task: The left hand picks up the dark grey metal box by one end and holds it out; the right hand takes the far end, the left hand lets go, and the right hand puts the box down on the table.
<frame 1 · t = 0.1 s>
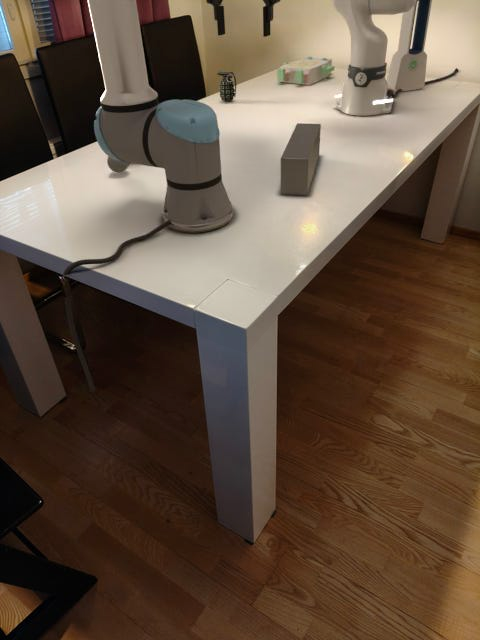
left hand: (243, 35, 129), 28 cm above the table, tool pointing down, fingers open, 13 cm apart
box: (301, 174, 124), on the table
decorative block: (304, 79, 207), on the table
electronic device: (404, 88, 187), on the table
molecular model: (143, 158, 139), on the table
grenade: (228, 101, 184), on the table
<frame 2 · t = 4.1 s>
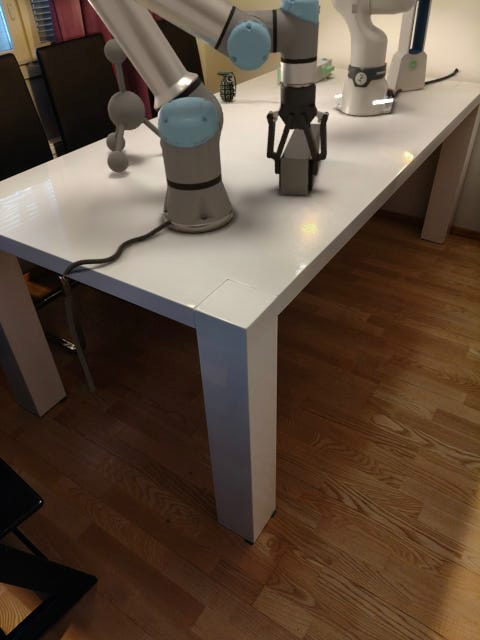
left hand: (296, 187, 117), 0 cm above the table, tool pointing down, fingers closed on box, 6 cm apart
right hand: (335, 13, 123), 32 cm above the table, tool pointing down, fingers open, 8 cm apart
box: (301, 174, 124), on the table, touching left hand
everything else where it was.
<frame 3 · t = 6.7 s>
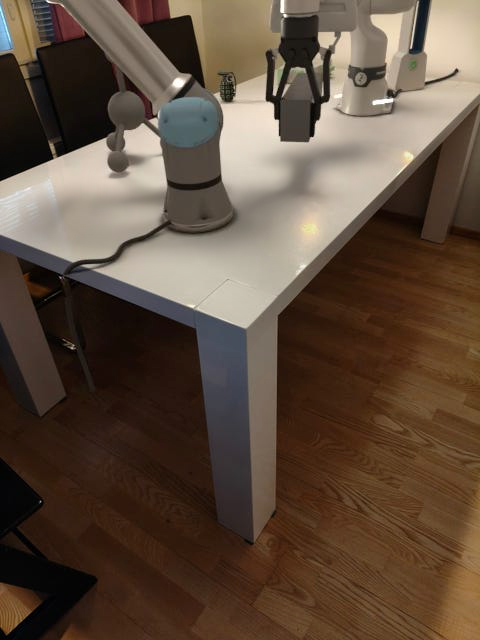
left hand: (296, 134, 109), 13 cm above the table, tool pointing down, fingers closed on box, 6 cm apart
right hand: (311, 53, 117), 26 cm above the table, tool pointing down, fingers open, 8 cm apart
box: (302, 124, 117), point 12 cm above the table, touching left hand
everything else where it was.
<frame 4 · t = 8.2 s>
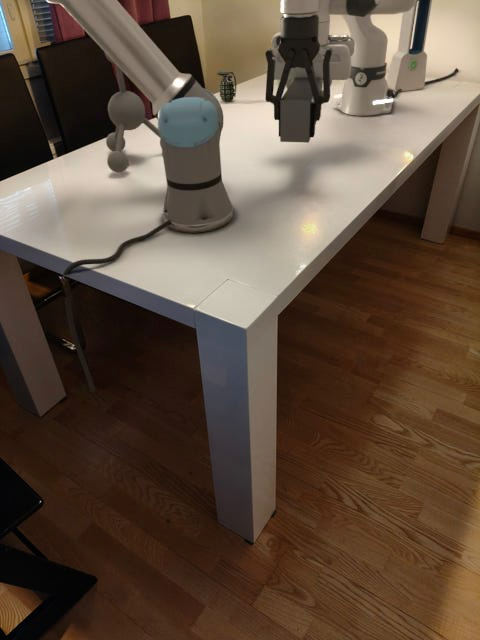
left hand: (296, 134, 109), 13 cm above the table, tool pointing down, fingers closed on box, 6 cm apart
right hand: (307, 98, 122), 16 cm above the table, tool pointing down, fingers closed on box, 6 cm apart
box: (302, 124, 117), point 12 cm above the table, touching left hand, right hand
everything else where it was.
when the left hand's fingers open (13 cm above the table, at t = 9.3 s): box stays where it is, held by the right hand.
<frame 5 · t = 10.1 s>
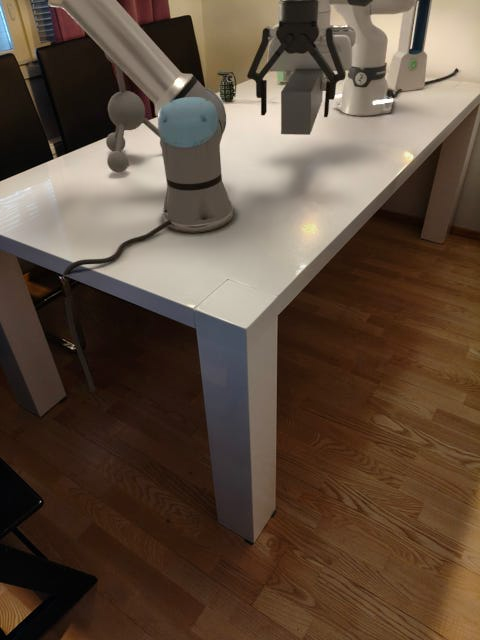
left hand: (294, 114, 106), 17 cm above the table, tool pointing down, fingers open, 13 cm apart
right hand: (308, 90, 121), 18 cm above the table, tool pointing down, fingers closed on box, 6 cm apart
box: (303, 116, 116), point 14 cm above the table, touching right hand
everything else where it was.
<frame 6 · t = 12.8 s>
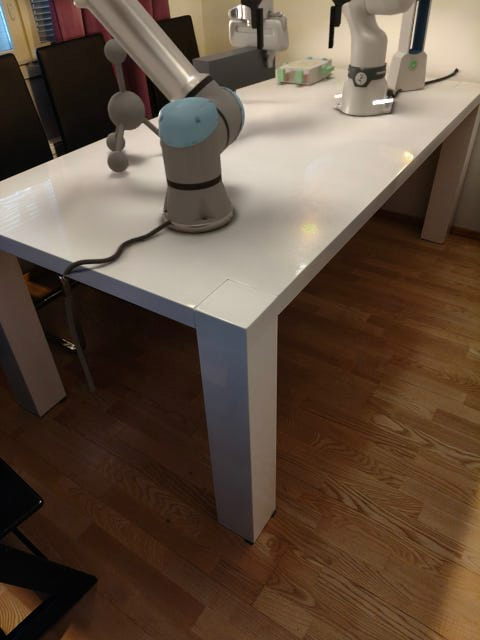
left hand: (295, 48, 94), 31 cm above the table, tool pointing down, fingers open, 13 cm apart
right hand: (259, 66, 143), 19 cm above the table, tool pointing down, fingers closed on box, 6 cm apart
box: (237, 85, 140), point 15 cm above the table, touching right hand
everything else where it was.
when the right hand's fingers open (5 cm above the table, at t = 17.3 s): box stays where it is, on the table.
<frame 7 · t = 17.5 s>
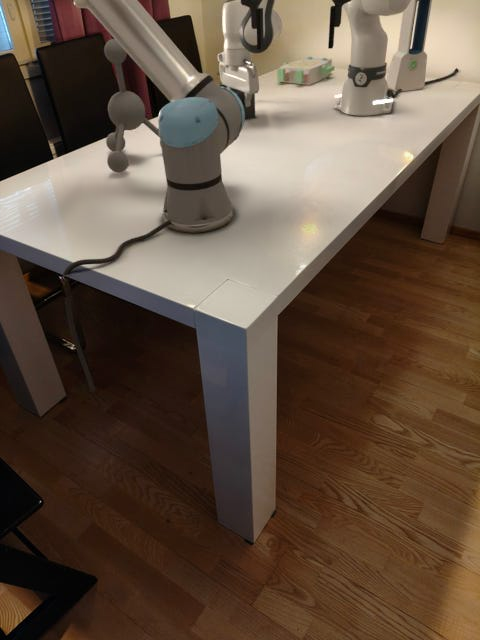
left hand: (295, 48, 94), 31 cm above the table, tool pointing down, fingers open, 13 cm apart
right hand: (240, 103, 164), 5 cm above the table, tool pointing down, fingers open, 8 cm apart
box: (217, 123, 163), on the table
everything else where it was.
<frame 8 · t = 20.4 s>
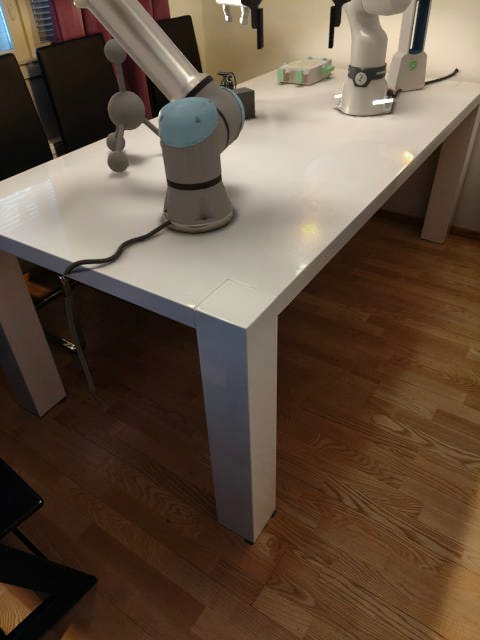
left hand: (295, 48, 94), 31 cm above the table, tool pointing down, fingers open, 13 cm apart
right hand: (236, 23, 150), 28 cm above the table, tool pointing down, fingers open, 8 cm apart
nothing on the table moved.
at the end: box inside the target area (9.2 cm from its centre), on the table; the left hand is holding nothing; the right hand is holding nothing; box at rest at the end (0.0 cm/s) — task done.
